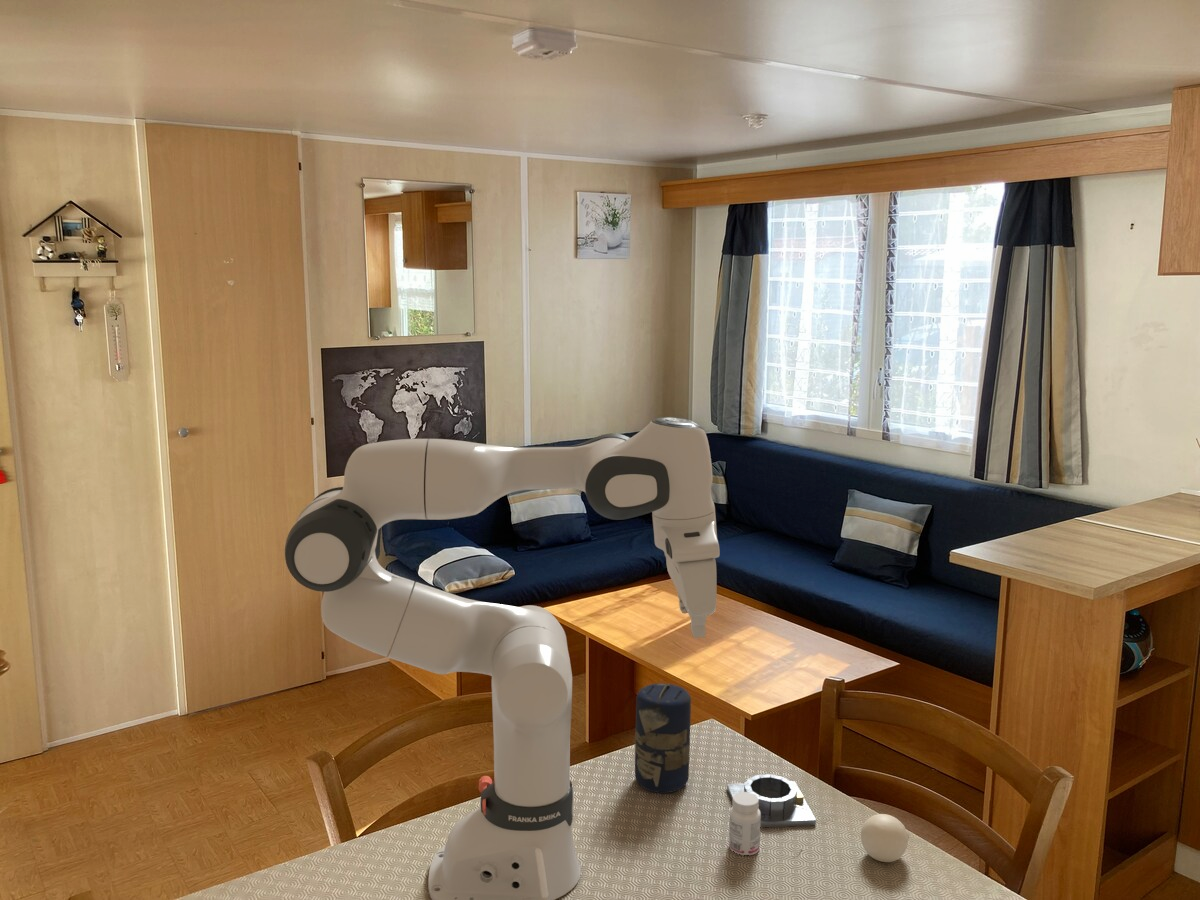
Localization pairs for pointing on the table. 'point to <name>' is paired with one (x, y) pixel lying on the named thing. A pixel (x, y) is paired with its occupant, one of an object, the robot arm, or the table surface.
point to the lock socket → (776, 800)
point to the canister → (662, 737)
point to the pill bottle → (745, 824)
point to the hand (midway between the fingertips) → (692, 623)
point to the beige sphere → (884, 837)
